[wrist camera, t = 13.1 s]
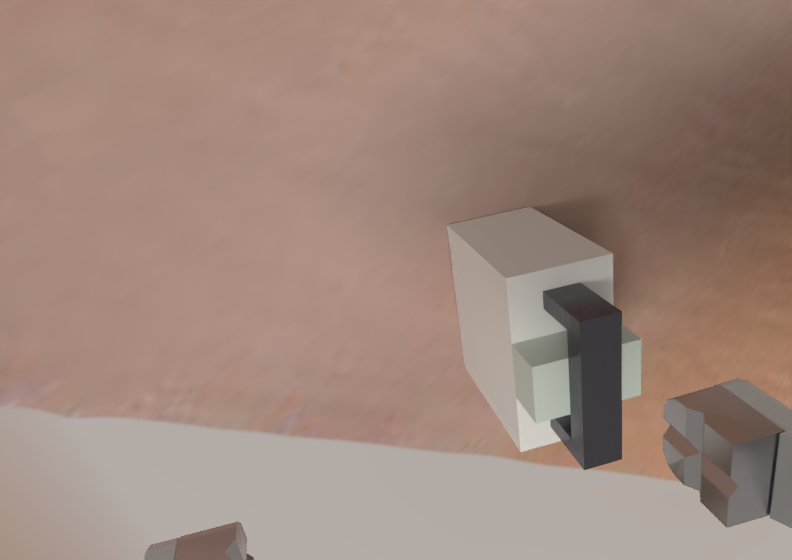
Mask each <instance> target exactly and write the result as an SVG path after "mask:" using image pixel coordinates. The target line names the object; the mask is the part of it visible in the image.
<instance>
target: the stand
mask: <svg viewBox="0 0 792 560" xmlns="http://www.w3.org/2000/svg"><path fill="white" fill-rule="evenodd" d="M447 230H448V238H449V246H450V254H451V262H452V270H453V278H454V286H455V294H456V302H457V310H458V319H459V327H460V335H461V343H462V351H463V359H464V366H465V368H466V369H467V371H468V373H469V374H470V376H471V377H472V379H473V380H474V382H475V383H476V385H477V386H478V388H479V389H480V391H481V392H482V394H483V395H484V397H485V398H486V400H487V401H488V403H489V405H490V406H491V408H492V409H493V411H494V412H495V414H496V415H497V417H498V418H499V420H500V421H501V423H502V424H503V426H504V427H505V429H506V430H507V432H508V433H509V435H510V437H511V438H512V440H513V441H514V443H515V444H516V446H517V447H518V449H519V450H520V452H523V451H526V450H530V449H534V448H537V447H541V446H544V445H548V444H552V443H555V442H559V441H561V439H560V438H559V437H558V436H557V434H556V433H555V432H554V430H553V429H552V428H551V423H550V420H552V419H555V418H559V417H563V416H566V415H570V414H571V412H570V389H569V366H568V342H567V329H566V328H565V327H563V326H562V325H561V324H560V323H559V322H558V321H557V320H556V319H555V318H553V317H552V316H551V315H550V314H549V313H548V312H547V311H546V310H545V309H544V306H543V291H546V290H550V289H554V288H558V287H562V286H567V285H571V284H575V283H579V282H581V283H582V284H584V285H585V286H586V287H588V288H589V289H591V290H592V291H593V292H595V293H596V294H598V295H599V296H600V297H602V298H603V299H605V300H606V301H607V302H609V303H610V304H612V305H613V306H614V304H613V253H611V252H610V251H608V250H606V249H604V248H603V247H601V246H599V245H597V244H595V243H594V242H592V241H590V240H588V239H587V238H585V237H583V236H581V235H580V234H578V233H576V232H574V231H572V230H571V229H569V228H567V227H565V226H564V225H562V224H560V223H558V222H556V221H555V220H553V219H551V218H549V217H548V216H546V215H544V214H542V213H541V212H539V211H537V210H535V209H533V208H532V207H527V208H522V209H518V210H513V211H508V212H504V213H499V214H494V215H490V216H485V217H481V218H476V219H471V220H467V221H462V222H458V223H453V224H448V225H447ZM639 395H641V338H639V337H638V336H636V335H635V334H634V333H632V332H631V331H630V330H628V329H627V328H626V327H624V326H623V325H622V400H625V399H628V398H632V397H636V396H639Z"/></svg>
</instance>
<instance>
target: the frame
mask: <svg viewBox="0 0 792 560" xmlns="http://www.w3.org/2000/svg"><path fill="white" fill-rule="evenodd" d="M543 306H544V309H545V310H546V311H547V312H548V313H549V314H550V315H551V316H552V317H553V318H555V319H556V320H557V321H558V322H559V323H560V324H561V325H562V326H563V327H565V328H566V329H567V342H568V366H569V389H570V412H571V414H570V415H566V416H563V417H559V418H555V419H552V420H550V423H551V428H552V429H553V430H554V432H555V433H556V434H557V436H558V437H559V438H560V439H561V441H562V442H563V443H564V445H565V446H566V447H567V448H568V450H569V451H570V452H571V454H572V455H573V456H574V457H575V459H576V460H577V461H578V462H579V464H580V465H581V466H582V468H583V469H584V470H586V469H589V468H593V467H596V466H600V465H603V464H607V463H610V462H614V461H617V460H621V459H622V311H620V310H619V309H617V308H616V307H615V306H613V305H612V304H610V303H609V302H607V301H606V300H605V299H603V298H602V297H600V296H599V295H598V294H596V293H595V292H593V291H592V290H591V289H589V288H588V287H586V286H585V285H584V284H582V283H581V282H579V283H575V284H571V285H567V286H562V287H558V288H554V289H550V290H546V291H543Z"/></svg>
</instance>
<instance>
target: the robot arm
mask: <svg viewBox="0 0 792 560" xmlns="http://www.w3.org/2000/svg"><path fill="white" fill-rule="evenodd" d="M663 418H664V419H665V420H666V421H667V422H668V423H669V424H670V426H669V428H668V429H667V431H666V433H665V434H664V436H663V452H664V455H665V458H666V461H667V463H668V466H669V467H670V469H671V470H672V472H673V473H674V475H675V476H676V477H677V478H678V479H679V480H680V481H681V482H682V483H683V484H684V485H686V486H688V487H691V488H693V489H696V490H699V491H700V501H701V503H702V504H703V505H704V506H705V507H706V508H707V509H709V511H710V512H711V513H712V514H714V516H715V517H717V518H718V520H719V521H721V522H722V523H723V524H724V525H725V526H726V527H731V526H734V525H738V524H741V523H744V522H748V521H751V520H755V519H758V518H762V517H765V516H768V515H770V518H771V519H774V520H776V521H778V522H780V523H782V524H784V525H786V526H788V527H790V528H792V410H791V409H789V408H788V407H786V406H785V405H783V404H782V403H780V402H779V401H777V400H776V399H774V398H773V397H771V396H770V395H768V394H767V393H765V392H763V391H762V390H760V389H759V388H757V387H756V386H754V385H753V384H751V383H750V382H748V381H747V380H743V379H739V378H737V379H734V380H730V381H727V382H724V383H720V384H717V385H714V386H713V387H709V388H705V389H702V390H699V391H695V392H692V393H688V394H685V395H681V396H678V397H675V398H671V399H668V400H667V401H666V403H665V405H664V412H663ZM144 560H254V558H253V557H252V556H250V555H249V554H247V538H246V535H245V532H244V530H243V527H242V524H241V523H239V522H235V523H232V524H227V525H223V526H220V527H216V528H212V529H208V530H204V531H200V532H197V533H193V534H189V535H185V536H182V537H180V538H176V539H172V540H168V541H164V542H160V543H157V544H153V545H150V546H149V548H148V549H147V551H146V552H145V556H144Z"/></svg>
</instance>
